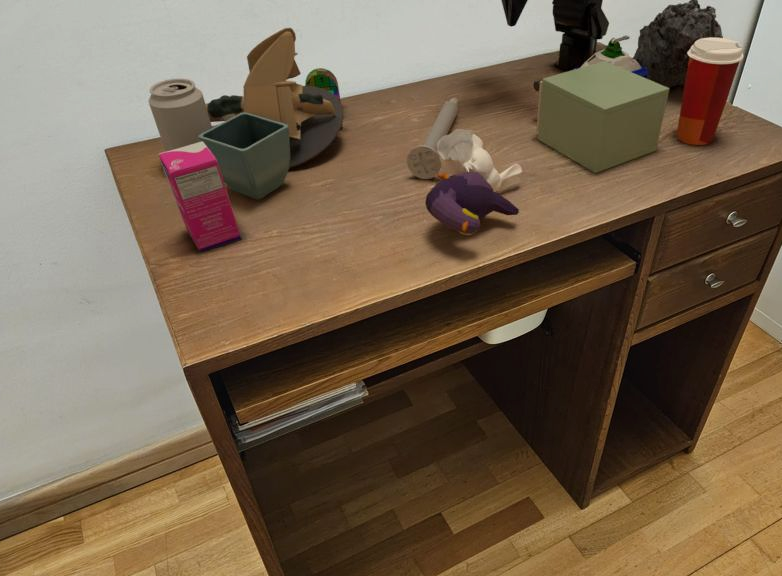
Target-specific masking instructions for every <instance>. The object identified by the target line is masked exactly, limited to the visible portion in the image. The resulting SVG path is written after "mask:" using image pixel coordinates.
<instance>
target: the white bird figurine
mask: <svg viewBox="0 0 782 576" xmlns="http://www.w3.org/2000/svg"><path fill="white" fill-rule="evenodd" d="M437 153H438V155H439V158H440V162H441V167H443V168H444V170H445V171H446V172H447V173H448V174H449V175H450V176H453V174H454V175H457V174H461V173H466V172H478V173H479V174H480V175H481V176H482V177H483V178H484V179H485V180H486V181H487V182H488V183H489V184H490V185H491V187H492V188H493V191H494V192H496V193H497V191H499V190H500V188H501V187H502V186H501V185H502V183H504V182H507V181H508V180H510V179H513V178H514V177H516V176H518V175H520V174H522V172H523V169H522V167H521V165H520V164H518V163H514V164H512V165H511V166H508V168H507V169H505V170H503V171H502V172H501V173H499V172H498V170H497V169H496V168H495V166H494V162H493V159H492V157H491V155H490V154H489V152H488V151H487V150H486V149H484V143H483V141H482V139H481V138H480V137H479V136H478V135H476V134H475V133H474V131H473V130H472V129H463V128H456V129H454V130H452V132H451V133H448V134H447V135H445V136H443V137H442V138H441V139H440V140H439V141H438V143H437Z"/></svg>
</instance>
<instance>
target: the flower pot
mask: <svg viewBox="0 0 782 576" xmlns="http://www.w3.org/2000/svg"><path fill="white" fill-rule="evenodd" d="M198 137H199V139H200V141H201V142H202V141H203V142H204V143H205V145H206V146H207V147H208V149H209V150H210V151H211V152H212V154H213V155H214V156H215V158H216V159H217V162H218V165H219V168H220V171H221V174H222V178H223V181H224V184H225V185H226V186H227V187H229V188H230V189H231V190H232V191H234V192H235V193H238V194H240V195H243V196H247V197H249V198H251V199H254V200H260V199H261V200H262V199H263V198H264V197H266V196H267V195H269V194H270V193H273V192H274V191H275V190H277V189H278V188H280V187H282V186H283V184H284V182H285V180H286V178H287V176H288V172H289V170H290V168H289V165H290V142H289V129H288V125H286V124H284V123H280V122H277V121H273V120H269V119H266V118H262V117H259V116H256V115H253V114H250V113H244V112H243V113H240V114H238V115H236V116H234V117H232V118H231V119H229V120H227V121H222V122H220V123H219V124H217V125H215V126H214V127H212V129H210V130H208V131H206V132H204V133H202V134H200V135H199V136H198Z"/></svg>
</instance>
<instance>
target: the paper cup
mask: <svg viewBox="0 0 782 576" xmlns="http://www.w3.org/2000/svg"><path fill="white" fill-rule="evenodd" d="M687 54H688V56H689V57H690V58H689V64H688V69H687V75H686V81H685V85H684V87H683V88H684V89H683V93H682V99H681V105H680V111H679V117H678V123H677V129H676V130H677V131H676V138H677V139H678V140H679V141H680V142H682V143H684V144H688V145H691V146H692V145H693V146H704V145H708V144H710V143H712V142H713V140H714V137H715V135H716V133H717V130H718V127H719V124H720V120H721V118H722V115H723V113H724V109H725V107H726V104H727V101H728V98H729V96H730V92H731V90H732V86H733V83H734V81H735V80H734V79H735V77H736V74H737V71H738V68H739V65H740V62H741V61H743V59H744V53H743V47H742V45H741V44H740V43H739V42H738V41H735V40H733V39H729V38H724V37H723V38H702V39H699V40H697V41H695V43H694V45H692V46H691V49H690V50H689V51H688V52H687Z"/></svg>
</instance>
